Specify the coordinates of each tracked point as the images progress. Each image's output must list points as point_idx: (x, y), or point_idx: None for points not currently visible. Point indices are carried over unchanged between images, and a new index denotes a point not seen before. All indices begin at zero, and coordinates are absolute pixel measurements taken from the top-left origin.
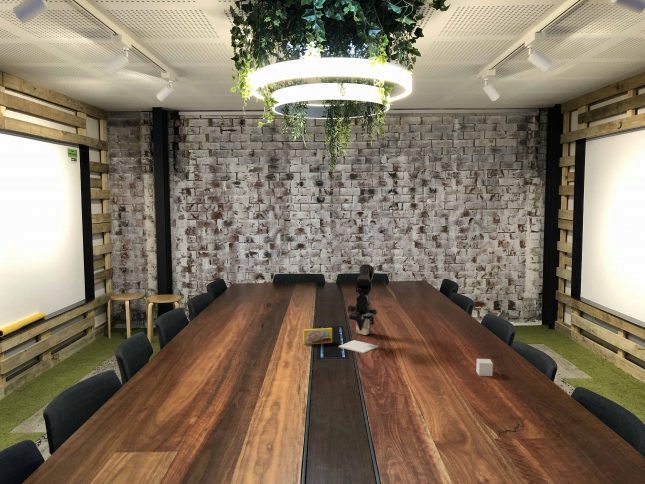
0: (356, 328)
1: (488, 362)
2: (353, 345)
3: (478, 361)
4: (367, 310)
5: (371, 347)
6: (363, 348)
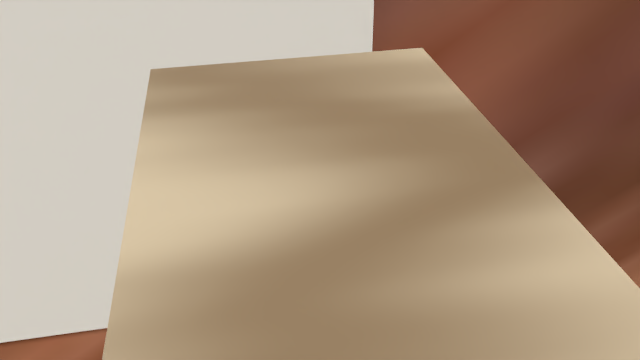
0: (139, 181)
1: None
2: (31, 2)
3: None
4: None
5: None
6: (73, 246)
